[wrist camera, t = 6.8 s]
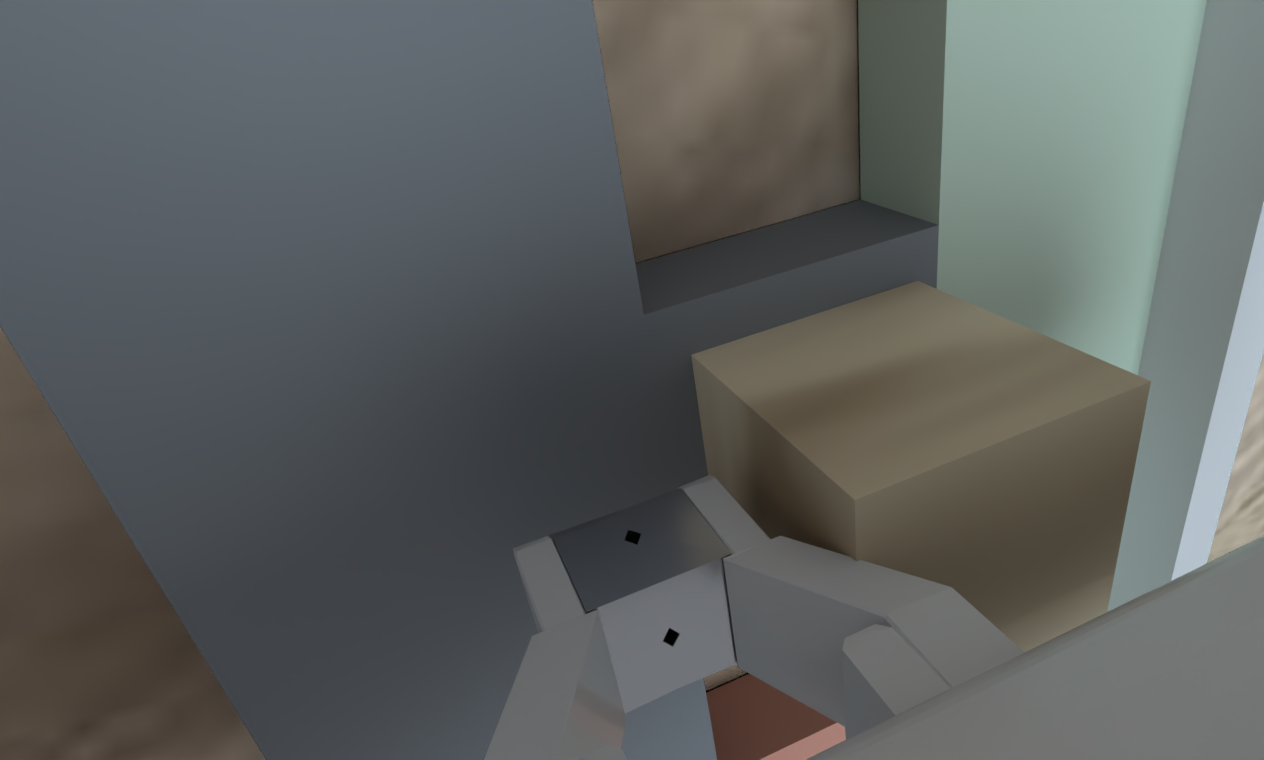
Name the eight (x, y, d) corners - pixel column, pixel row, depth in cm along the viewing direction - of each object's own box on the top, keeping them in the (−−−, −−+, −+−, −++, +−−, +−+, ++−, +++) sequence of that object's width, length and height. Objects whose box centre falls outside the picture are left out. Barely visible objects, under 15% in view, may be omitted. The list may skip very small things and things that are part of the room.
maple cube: (913, 481, 14) (1104, 628, 11) (719, 559, 13) (860, 748, 10) (917, 280, 12) (1151, 381, 9) (691, 354, 11) (853, 500, 8)
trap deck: (1056, 564, 20) (1181, 655, 17) (386, 869, 16) (402, 1060, 13) (1169, -222, 12) (1438, -298, 9) (-117, -36, 8) (-370, -70, 5)
